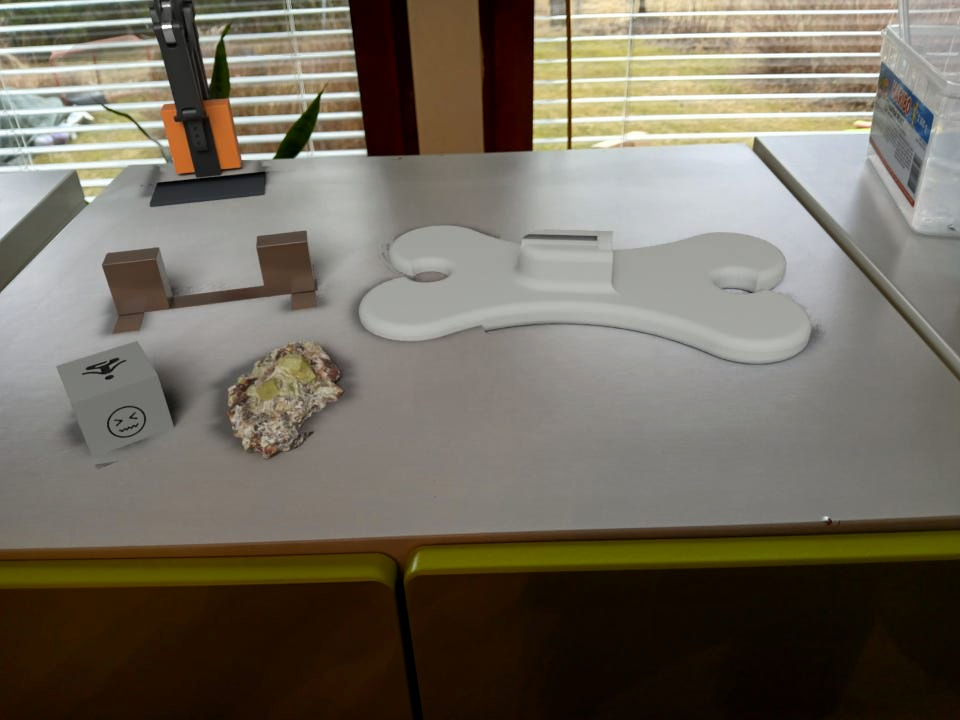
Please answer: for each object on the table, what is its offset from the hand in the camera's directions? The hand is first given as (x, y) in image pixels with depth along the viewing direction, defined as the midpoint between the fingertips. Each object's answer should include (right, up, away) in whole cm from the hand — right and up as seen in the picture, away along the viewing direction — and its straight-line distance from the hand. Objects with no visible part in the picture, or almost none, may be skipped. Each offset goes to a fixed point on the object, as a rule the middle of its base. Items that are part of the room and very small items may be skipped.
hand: (210, 170), depth 90 cm
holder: (+39, -16, -25) cm, 49 cm away
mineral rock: (+17, -25, -37) cm, 48 cm away
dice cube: (+8, -27, -38) cm, 47 cm away
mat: (0, -1, +1) cm, 1 cm away
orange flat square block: (0, 0, 0) cm, 0 cm away
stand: (+9, -17, -24) cm, 31 cm away
